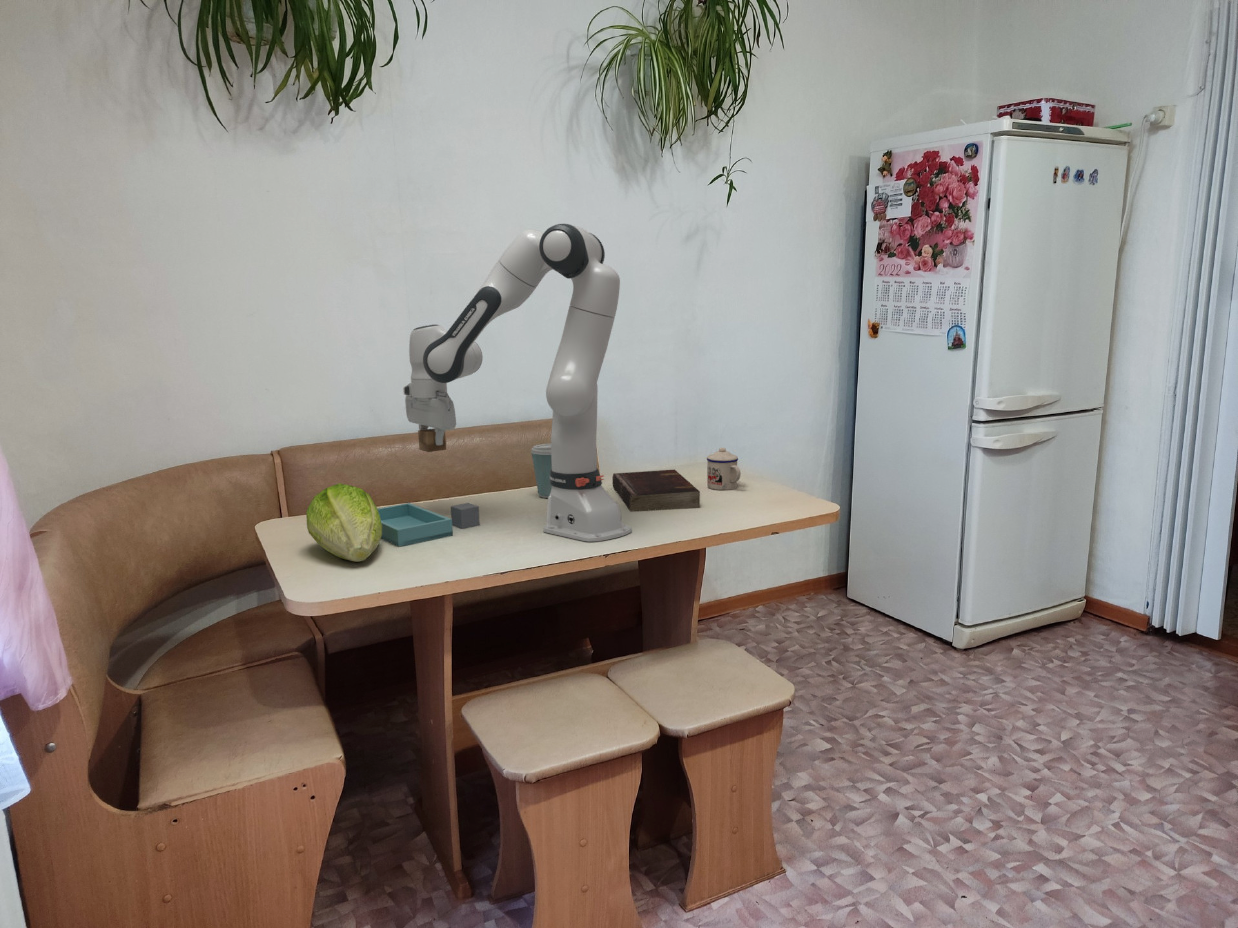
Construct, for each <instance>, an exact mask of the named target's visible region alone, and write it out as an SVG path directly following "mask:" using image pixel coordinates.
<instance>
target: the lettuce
mask: <svg viewBox="0 0 1238 928" xmlns="http://www.w3.org/2000/svg"><path fill="white" fill-rule="evenodd" d="M305 513H306V514H305V515H306V528H307V533H308V534H309V535H310V536H311V537H312V538H313V540H314V541H315V542H316V544H318V545H319V546H320V547H321V548H322V549H324V550H325V551H326V552H329V553H331V554H332V555H334V556H335V557H337V558H340V559H343V560H346V561H351V562H362V561H366V560H367V558H368V557H369V556H370V555H372V553H373V552H374V551H375V550H376V549H377V547H378V546H379V544H380V541H381V540H382V539H381V536H382V524H381V519H380V515H379V512H378V507H377V505H376V504H375V502H374V501H373V499H372V497H371V496H370V494H369V493H367V492H366V491H365V490H364V489H362V488H360V487H357V486H353V485H349V484H345V483H336V484H334V485H330V486H329V487H326V488H324V489H323V490H321V491H320V492H319V493H317V494H316V495H314V496H313V498H312V500H311V501H310V504H309V505H308V507H307V509H306V512H305Z"/></svg>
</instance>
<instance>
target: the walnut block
mask: <svg viewBox="0 0 1238 928" xmlns="http://www.w3.org/2000/svg"><path fill="white" fill-rule="evenodd" d="M417 432H418V447H419V448H418V449H419V451H422V452H427V453H432V452H439V451H446V450H447V442H446V441H447V439H446V438H447V437H446V432H445V433H444V436H443V444H442V445H435V444H434V438H435V436H436V432H435V428H428V429H426V430H419V429H418V431H417Z"/></svg>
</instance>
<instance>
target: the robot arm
mask: <svg viewBox="0 0 1238 928" xmlns="http://www.w3.org/2000/svg"><path fill="white" fill-rule="evenodd" d="M605 253H606V252H605V248H604V245H603V244H602V242H601V240H600V239H599V238H598V236H596V235H594V234H593V233H592V232H588V231H587V230H586V229H584V228H583V227H580V226H576V225H572V224H569V223H558V224H555V225H551V226H550V227H548V228H547V229H546V230H545V231H544V232H542V231H539V230H536V229H532V228H531V229H530V228H529V229H526V230H523V231H522V232H520V234H519V235H517V237H515V239H514V240H513V241H512V242H511V243H510V244H509V246H508V247H507V248H506V249H505V250H504V252H503V253H502V254H501V256H499V259H498V260H497V262H496V263H495V264H494V266H493V267H492V269H491V270H490V272H489V274H488V275H487V277H486V279H485V280H484V282H483V284H482V285H481V286H480V288H479V289H478V291H477V292H476V294H475V295H474V296H473V297H472V299H471V300H470V302H469V303H467V305H466V306H465V308H464V309H463V311H462V312H461V313H460V314H459V316H458V317H457V318H456V320H455V321H454V322H453V323H452V325H451V326H450V328H449V329H448V330H447V329H445V328H444V327H442V326H441V325H439V324H429V325H423V326H419V327H416V328H414V329H412V331H411V333H410V334H409V335H410V336H409V347H408V353H409V363H410V367H411V374H410V375H411V376H410V383H408V384H407V385H404V386H403V390H402V391H403V395H404V396H405V398H404V401H405V402H404V403H405V413H406V417H407V421H408V422H409V423H412V424H416V425H418V430H426V429H429V427H430V428H432V429H434V428H435V432H436V436H435V438H434V444H435V445H442V444H443V436H444V433H445V434H446V431H449V430H454V429H455V428H456V425H457V417H456V408H455V405H454V402H453V400H452V399H451V397H450V396H449V393H448V385H447V384H448V383H450V382H451V383H452V382H454V381H455V380H458V379H461V378H464V377H467V376H471V375H472V374H474V373H476V372H477V371H479V370H480V368H481V366H482V363H483V352H482V350H481V346H480V345H479V344H478V343H477V342H476V340H477V339H478V338H479V336H480V335H481V333H482V332H483V331H484V330H485V328H487V326H488V325H489V324H490V323H491V322H492V321H493V320H495V319H497V318H499V317H500V316H501V315H504V314H507V313H508V312H511V311H513V310H515V309H519V307H521V306H522V305H523V304H524V303H525V302H526V301H527V300H528V299H529V298H530V297H531V295H533V293H534V292H535V290H536V289H537V287H538V286H539V284H540V283H541V281H542V280H543V278H544V277H545V276H546V274H548V273H549V272H550V271H552V270H553V271H555V272H556V273H558V274H560V275H561V276H563V277H564V278H566V279H571V280H570V281H571V282H572V287H573V288H572V289H573V290H572V294H571V298H570V302H569V307H568V310H567V314H566V319H565V322H564V325H563V326H564V327H563V330H562V331H563V332H562V334H561V339H560V342H559V345H558V349H557V351H556V354H555V357H554V361H553V364H552V368H551V371H550V373H549V378H548V382H547V384H546V385H547V386H546V390H545V397H546V401H547V404H548V406H549V407H550V409H551V411H552V421H551V434H550V435H551V436H550V443H551V461H552V469H551V470H550V484H551V485H552V489H551V492H550V495H549V497H548V498H547V508H546V524H545V525H544V526H543V527H542V528H543V530H542V531H543V533H547V534H551V535H556V536H560V537H564V538H569V539H573V540H577V541H583V542H602V541H607V540H612V539H616V538H620V537H624V536H626V535H628V534H630V533H632V527H631V526H630V525H628V524H625V523H623V522H622V513H621V508H620V506H619V503H618V502H617V501H616V500H614V499H613V498H612V496H611V495H610V494H609V493H608V491H606V489H605V488H604V487H603V481H604V480H605V478H604V477H605V475H604V474H602V475H601V473H600V470H599V469H598V467H597V466H598V465H597V464H598V462H597V454H598V453H597V452H598V451H597V427H598V426H597V425H598V393H599V391H598V381H599V376H600V373H601V370H602V366H603V363H604V359H605V357H606V352H607V350H608V346H609V342H610V338H611V335H612V334H611V333H612V330H613V327H614V322H615V317H616V314H617V310H618V306H619V305H618V304H619V296H620V289H621V287H620V286H621V278H620V276H619V274H618V272H617V271H616V270H615V269H613V268H612V267H611V266H609V265H606V264H604V261H605V256H606V255H605Z"/></svg>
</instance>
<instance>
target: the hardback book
mask: <svg viewBox="0 0 1238 928" xmlns="http://www.w3.org/2000/svg"><path fill="white" fill-rule="evenodd" d="M611 483H612V488H613V489H614V491H615V492H616V493H617V495H618V496H619V497H620V499H621V500H622V502H623V503H624V505H625V506H626V507H627V508H628V510H629V511H630V512H631V513H633V512H635V513H636V512H650V511H651V512H652V511H667V510H668V511H669V510H684V509H699V508H700V506H701V503H700V501H701V499H700V498H701V490H699V489H698V488H697V487H696V486H694V485H693V484H692V483H691V482H690V481H688V479H686V478H685V477H684V476H683V475H682V474H681V473H679V472H678V471H677V470H676V468H675V469H660V470H646V471H633V472H631V471H629V472H617V473H615V472H614V473H613V474H612V482H611Z"/></svg>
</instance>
